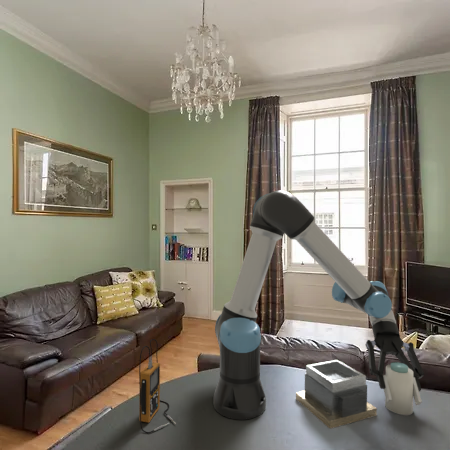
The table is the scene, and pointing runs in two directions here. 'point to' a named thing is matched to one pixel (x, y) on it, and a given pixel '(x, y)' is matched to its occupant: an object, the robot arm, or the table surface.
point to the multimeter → (150, 391)
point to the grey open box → (335, 394)
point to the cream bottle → (400, 388)
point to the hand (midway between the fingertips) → (404, 402)
